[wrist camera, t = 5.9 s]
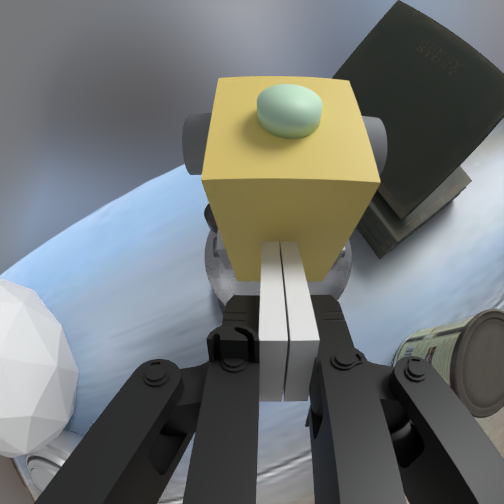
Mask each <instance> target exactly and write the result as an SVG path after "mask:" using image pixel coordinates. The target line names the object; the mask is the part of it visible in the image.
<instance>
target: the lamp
mask: <svg viewBox="0 0 504 504" xmlns="http://www.w3.org/2000/svg"><path fill="white" fill-rule="evenodd" d="M78 378H79V371H78V368H77V366H76V364H75V361H74V359H73V356H72V353H71V351H70V348H69V345H68V343H67V340H66V337H65V334H64V331H63V329H62V326H61V324H60V323H59V322H58V321H57V320H56V318H55V317H54V316H53V315H52V313H51V312H50V311H49V310H48V308H47V307H46V306H45V305H44V303H43V302H42V301H41V299H40V298H39V297H38V295H37V294H36V293H35V291H34V290H32V289H29V288H26V287H23V286H20V285H17V284H15V283H12V282H9V281H6V280H4V279H1V278H0V455H2V456H6V457H9V458H15V457H18V456H22V455H26V466H27V468H28V471H29V472H30V476H31V478H32V480H33V482H34V483H35V485H36V486H37V487H38V488H39V489H40V491H41V492H43V491H44V489H45V488H46V487H47V485H48V484H49V482H50V481H51V480H52V478H53V477H54V476H55V474H56V473H57V472H58V470H59V469H60V468H61V466H62V465H63V464H64V462H65V461H66V460H67V458H68V457H69V456H70V454H71V453H72V452H73V450H74V449H75V448H76V446H77V445H78V444H79V442H80V441H81V440H82V438H83V437H84V436H82V435H79V434H77V433H74V432H71V431H66V430H63V429H64V427H65V426H66V425H67V423H68V422H69V420H70V418H71V416H72V414H73V413H74V405H75V397H76V390H77V384H78Z"/></svg>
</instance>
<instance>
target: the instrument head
mask: <svg viewBox="0 0 504 504" xmlns="http://www.w3.org/2000/svg"><path fill="white" fill-rule="evenodd" d="M182 147H183V157H184V162H185V166H186V169H187V171H188V173H189V174H190V175H201V174H202V177H201V181H202V184H203V187H204V190H205V192H206V195H207V198H208V201H209V204H210V207H211V210H212V212H213V215H214V218H215V221H216V224H217V226H218V229H219V232H220V235H221V238H222V240H223V243H224V246H225V249H226V251H227V254H228V257H229V260H230V262H231V265H232V268H233V271H234V273H235V276H236V279H237V281H259V282H261V257H262V241H279V248H280V241H283V242H297V244H298V248H299V252H300V256H301V260H302V264H303V268H304V272H305V276H306V281H307V282H320V281H323V280H324V279H325V277H326V275H327V274H328V272H329V271H330V269H331V267H332V266H333V264H334V263H335V261H336V259H337V258H338V256H339V254H340V253H341V251H342V250H343V248H344V246H345V245H346V243H347V241H348V240H349V238H350V236H351V234H352V233H353V231H354V229H355V228H356V226H357V224H358V222H359V221H360V219H361V217H362V215H363V214H364V212H365V210H366V208H367V207H368V205H369V203H370V201H371V199H372V198H373V196H374V194H375V192H376V190H377V188H378V187H379V185H380V183H381V182H380V178H379V175H380V174H381V173H382V171H383V169H384V166H385V163H386V158H387V135H386V130H385V127H384V124H383V122H382V121H381V120H380V119H379V118H375V117H367V116H362V115H361V113H360V110H359V107H358V104H357V101H356V98H355V95H354V93H353V90H352V87H351V85H350V82H349V81H348V80H338V79H327V78H312V77H291V76H251V77H230V78H219V80H218V85H217V90H216V95H215V100H214V106H213V111H212V113H206V114H194V115H188V116H187V117H186V119H185V122H184V127H183V135H182Z"/></svg>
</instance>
